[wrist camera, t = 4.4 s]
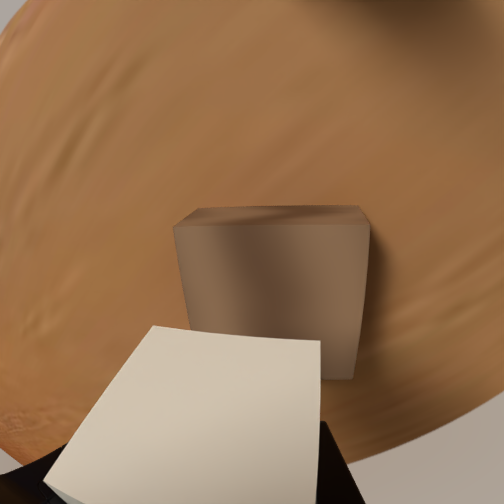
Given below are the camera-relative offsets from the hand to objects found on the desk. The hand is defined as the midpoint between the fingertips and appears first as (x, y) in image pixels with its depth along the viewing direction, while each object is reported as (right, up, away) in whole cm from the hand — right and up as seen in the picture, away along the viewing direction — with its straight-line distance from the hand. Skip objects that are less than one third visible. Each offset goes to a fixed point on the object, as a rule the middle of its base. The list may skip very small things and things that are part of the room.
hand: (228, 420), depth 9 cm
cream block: (0, 0, +1) cm, 1 cm away
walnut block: (+2, +4, +10) cm, 11 cm away
